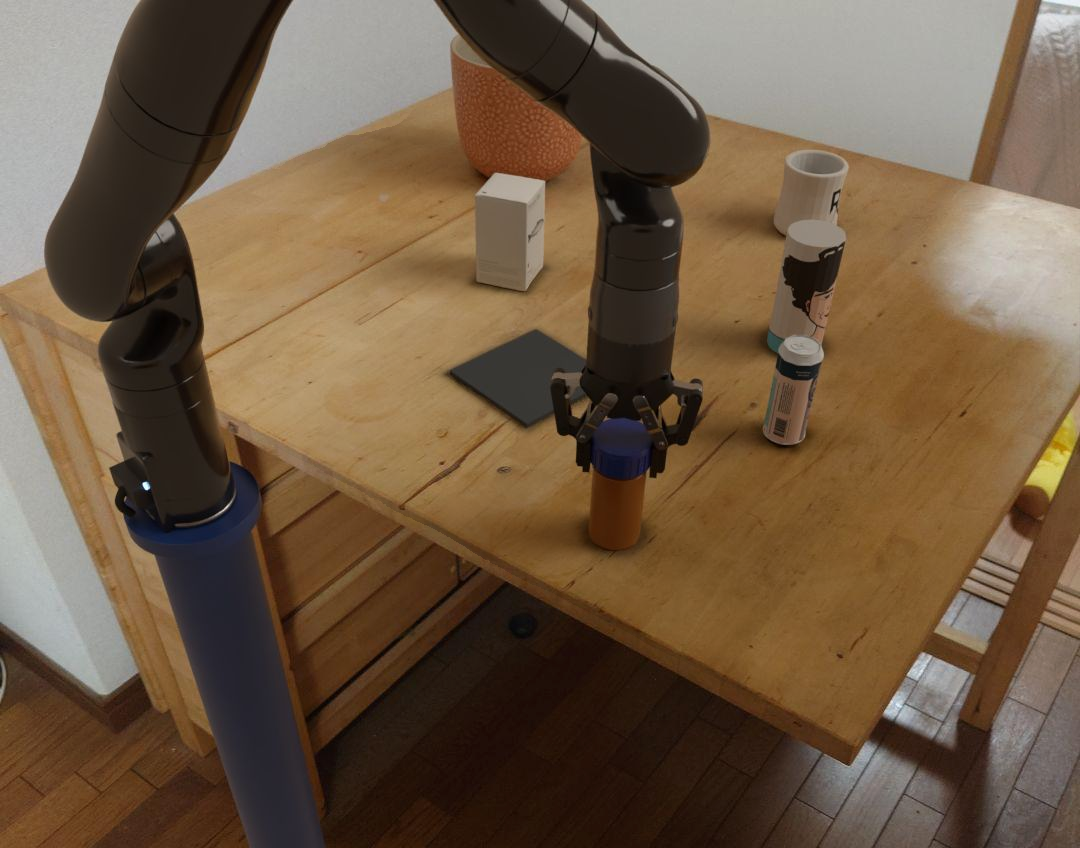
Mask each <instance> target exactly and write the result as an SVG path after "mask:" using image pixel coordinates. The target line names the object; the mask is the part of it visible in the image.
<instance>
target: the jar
mask: <svg viewBox="0 0 1080 848" xmlns="http://www.w3.org/2000/svg"><path fill="white" fill-rule="evenodd" d="M591 472H592V474H591V487H590V490H591V491H590V503H589V518H588V519H589V520H588V536H589V538H590V540H591V541H592V542H593V543H594V544H595V545H596V546H598V547H599V548H603V549H605V550H609V551H623V550H626V549H630V548H631V547H633V546H634V545H635V544H636V543H637V542H638V541H639V539H640V536H641V529H642V527H641V526H642V520H643V519H642V517H643V508H644V499H645V490H646V483H647V482H646V481H647V473H648V470H647V471H646V472H645V473H643V474H642V475H640V476H637V477H634V478H629V479H617V478H612V477H608V476H605V475H603V474H601V473H600V472H598V471H597V470H596V469H595V468H594V467H593V466H592V471H591Z"/></svg>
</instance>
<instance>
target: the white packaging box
mask: <svg viewBox="0 0 1080 848" xmlns="http://www.w3.org/2000/svg"><path fill="white" fill-rule="evenodd" d="M545 204H546V181H543V180H538V179H532V178H526V177H520V176H514V175H508V174H501V173H494V174H493V175H492V177H491V178H488V180H486V182H485V183H484V184H483V185H482V186H481V187H480V188H479V189H478V191H477V192H476V193H474V226H475V230H474V231H475V232H474V233H475V235H474V236H475V268H476V269H475V275H476V277H475V279H476V280H475V281H476V282H477V283H480V284H485V285H491V286H494V287H500V288H504V289H509V290H515V291H519V292H525V291H527V290H528V288H529V286H530V285H531V284H532V282H533V281H534V279H535V278H536V276H537V275H538V274H539V272H540V271H541V270H542V269H543V268H544V253H545V217H546V215H545V214H546V207H545V206H546V205H545Z"/></svg>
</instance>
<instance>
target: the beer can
mask: <svg viewBox="0 0 1080 848" xmlns="http://www.w3.org/2000/svg"><path fill="white" fill-rule="evenodd" d="M822 345H823V344H822ZM822 345H821V344H820V343H819V342H818V340H817V339H815V338H812V337H810V336H807V335H793V336H790V337H788V338H786V340H785V341H784V342H783V343H782V344H781V345H780V346H779V349H778V353H777V357H776V363H775V367H774V372H773V377H772V382H771V387H770V391H769V397H768V402H767V406H766V407H767V408H766V411H765V417H764V418H765V419H764V422H763V426H762V433H763V435H764V436H765V438H767V439H768V440H769V441H771V442H773V443H775V444H778V445H783V446H793V445H797V444H799V443H801V442H803V440H804V439H805V437H806V431H807V426H808V423H809V418H810V414H811V410H812V405H813V401H814V397H815V392H816V388H817V385H818V379H819V375H820V370H821V367H822V363H823V360H824V357H825V353H824V349H823V347H822Z"/></svg>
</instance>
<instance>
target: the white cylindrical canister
mask: <svg viewBox="0 0 1080 848" xmlns="http://www.w3.org/2000/svg"><path fill="white" fill-rule="evenodd" d="M846 240H847V233H846V231H844V229H843V228H841V227H840V226H838V225H835V224H832V223H830V222H826V221H821V220H801V221H797V222H795V223H793V224H791V225H790V226H789V228H788V230H787V236H785V241H784V247H783V251H782V252H783V253H782V257H781V263H780V268H779V272H778V273H779V274H778V279H777V283H776V289H775V295H774V299H773V301H774V302H773V304H772V311H771V316H770V320H769V327H768V331H767V337H766V343H767V345H768V347H769V348H770V349H771V350H772V351H773V352H774V353H776V354H778V349H779V346H780V345H781V344H782V343H783V342H784V341H785V340H786V338H788V337H790V336H793V335H807V336H810V337H812V338H815V339H817V340H818V342H819V343H820V344H821V345H823V341H824V336H825V333H826V327H827V323H828V318H829V315H830V310H831V305H832V302H833V298H834V293H835V288H836V284H837V280H838V276H839V271H840V267H841V263H842V258H843V254H844V249H845V245H846Z"/></svg>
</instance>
